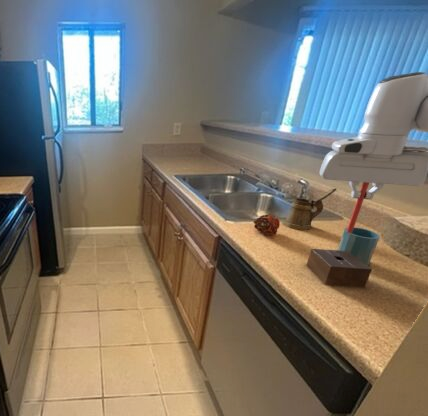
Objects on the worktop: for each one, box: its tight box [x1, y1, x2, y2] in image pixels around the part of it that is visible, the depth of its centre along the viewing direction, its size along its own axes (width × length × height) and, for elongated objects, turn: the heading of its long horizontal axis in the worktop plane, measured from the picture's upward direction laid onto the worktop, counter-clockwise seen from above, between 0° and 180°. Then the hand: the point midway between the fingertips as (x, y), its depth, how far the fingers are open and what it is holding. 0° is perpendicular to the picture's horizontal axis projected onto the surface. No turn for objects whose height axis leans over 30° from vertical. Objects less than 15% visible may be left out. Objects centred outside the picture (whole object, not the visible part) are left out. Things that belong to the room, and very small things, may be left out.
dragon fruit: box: [253, 213, 280, 236], centre depth 108 cm, size 8×8×12 cm
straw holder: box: [306, 248, 373, 288], centre depth 81 cm, size 10×10×6 cm
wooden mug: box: [283, 187, 338, 231], centre depth 110 cm, size 9×14×18 cm, turn 47°
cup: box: [337, 226, 380, 267], centre depth 88 cm, size 8×8×10 cm
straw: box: [346, 182, 370, 233], centre depth 73 cm, size 1×1×20 cm
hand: (360, 198), depth 73 cm, fingers closed on straw, 1 cm apart
